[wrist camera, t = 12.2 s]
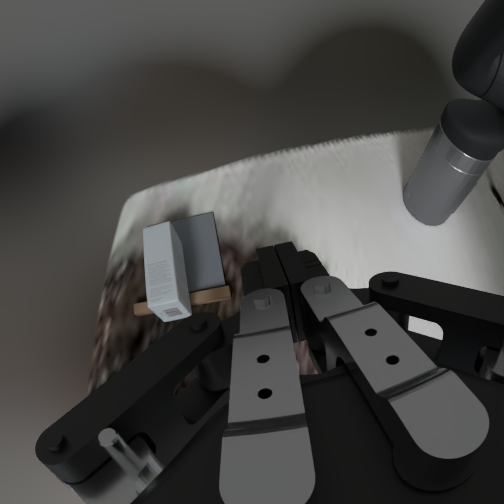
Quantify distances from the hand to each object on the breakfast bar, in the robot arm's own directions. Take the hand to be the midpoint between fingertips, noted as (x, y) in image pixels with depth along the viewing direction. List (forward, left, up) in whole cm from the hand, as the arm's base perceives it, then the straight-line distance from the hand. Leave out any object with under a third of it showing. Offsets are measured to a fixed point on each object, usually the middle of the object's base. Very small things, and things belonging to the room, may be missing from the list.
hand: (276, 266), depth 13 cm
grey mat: (+10, -17, -31) cm, 36 cm away
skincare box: (+12, -7, -26) cm, 29 cm away
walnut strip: (+11, -9, -31) cm, 34 cm away
